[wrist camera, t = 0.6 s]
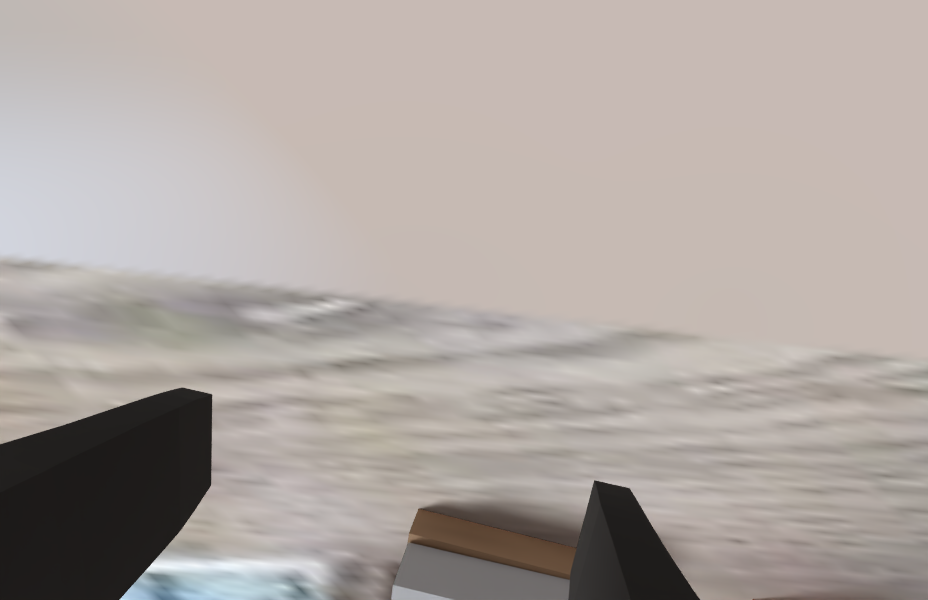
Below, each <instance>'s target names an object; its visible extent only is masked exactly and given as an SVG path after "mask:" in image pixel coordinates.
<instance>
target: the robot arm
mask: <svg viewBox="0 0 928 600" xmlns="http://www.w3.org/2000/svg"><path fill="white" fill-rule="evenodd" d="M211 450H212V394H208V393H204V392H200V391H195V390H191V389H186V388H179V389H174V390H170V391H167V392H163V393H160V394H156V395H153V396H150V397H147V398H144V399H141V400H138V401H135V402H132V403H129V404H126V405H123V406H120V407H117V408H114V409H111V410H108V411H105V412H102V413H99V414H96V415H93V416H90V417H87V418H84V419H81V420H78V421H75V422H72V423H69V424H66V425H63V426H60V427H56V428H53V429H50V430H46V431H43V432H40V433H36V434H33V435H30V436H27V437H23V438H20V439H17V440H13V441H10V442H7V443H3V444H0V600H119V599H120V598H121V597H122V596H123V595H124V594H125V593H126V592H127V590H128V589H129V588H130V587H131V586H132V585H133V584H134V583H135V582H136V580H137V579H138V578H139V577H140V576H141V575H142V574H143V573H144V572H145V570H146V569H147V568H148V567H149V566H150V565H151V564H152V563H153V561H154V560H155V559H156V558H157V557H158V556H159V555H160V553H161V552H162V551H163V550H164V549H165V548H166V547H167V546H168V544H169V543H170V542H171V541H172V540H173V539H174V537H175V536H176V535H177V534H178V533H179V532H180V530H181V529H182V528H183V526H184V525H185V523H186V522H187V520H188V519H189V518H190V516H191V515H192V513H193V512H194V511H195V509H196V508H197V506H198V504H199V503H200V501H201V500H202V498H203V497H204V495H205V494H206V492H207V491H208V489H209V488H210V486H211ZM568 600H700V599H699V598H698V596H697V595H696V593H695V592H694V591H693V589H692V588H691V586H690V585H689V583H688V582H687V580H686V579H685V577H684V576H683V574H682V573H681V571H680V570H679V568H678V567H677V565H676V564H675V562H674V561H673V559H672V558H671V556H670V554H669V553H668V551H667V550H666V548H665V546H664V545H663V543H662V542H661V540H660V538H659V537H658V535H657V533H656V532H655V530H654V528H653V527H652V525H651V523H650V522H649V520H648V518H647V517H646V515H645V513H644V511H643V510H642V508H641V506H640V505H639V503H638V501H637V500H636V498H635V496H634V495H633V493H632V492H631V490H630V488H626V487H621V486H617V485H612V484H608V483H604V482H599V481H595V480H594V484H593V488H592V491H591V495H590V499H589V503H588V507H587V511H586V514H585V518H584V522H583V526H582V530H581V534H580V537H579V541H578V545H577V549H576V553H575V556H574V560H573V564H572V568H571V572H570V585H569V599H568Z"/></svg>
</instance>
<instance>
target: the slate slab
mask: <svg viewBox="0 0 928 600" xmlns="http://www.w3.org/2000/svg"><path fill="white" fill-rule="evenodd" d="M569 585H570V580H568V579H563V578H559V577H555V576H551V575H546V574H542V573H538V572H533V571H529V570H525V569H521V568H516V567H512V566H508V565H503V564H499V563H495V562H491V561H486V560H482V559H478V558H473V557H469V556H465V555H461V554H456V553H452V552H448V551H443V550H439V549H435V548H431V547H426V546H422V545H418V544H413V543H409V542H408V545H407V548H406V551H405V553H404V556H403V559H402V562H401V565H400V567H399V570H398V573H397V576H396V578H395V581H394V584H393V590H392V598H391V600H568V599H569Z"/></svg>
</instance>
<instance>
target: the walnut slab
mask: <svg viewBox="0 0 928 600" xmlns="http://www.w3.org/2000/svg"><path fill="white" fill-rule="evenodd" d="M408 542H409V543H413V544H418V545H422V546H426V547H431V548H435V549H439V550H443V551H448V552H452V553H456V554H461V555H465V556H469V557H473V558H478V559H482V560H486V561H491V562H495V563H499V564H503V565H508V566H512V567H516V568H521V569H525V570H529V571H533V572H538V573H542V574H546V575H551V576H555V577H559V578H563V579H568V580H570V572H571V568H572V564H573V560H574V556H575V553H576V549H577V548H574V547H570V546H566V545H562V544H558V543H554V542H550V541H546V540H542V539H538V538H534V537H530V536H526V535H522V534H518V533H514V532H510V531H506V530H502V529H498V528H494V527H490V526H486V525H482V524H478V523H474V522H470V521H466V520H462V519H458V518H454V517H450V516H446V515H442V514H438V513H434V512H430V511H426V510H422V509H418V512H417V514H416V517H415V519H414V522H413V525H412V527H411V530H410V533H409V538H408ZM407 545H408V544H407Z"/></svg>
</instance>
